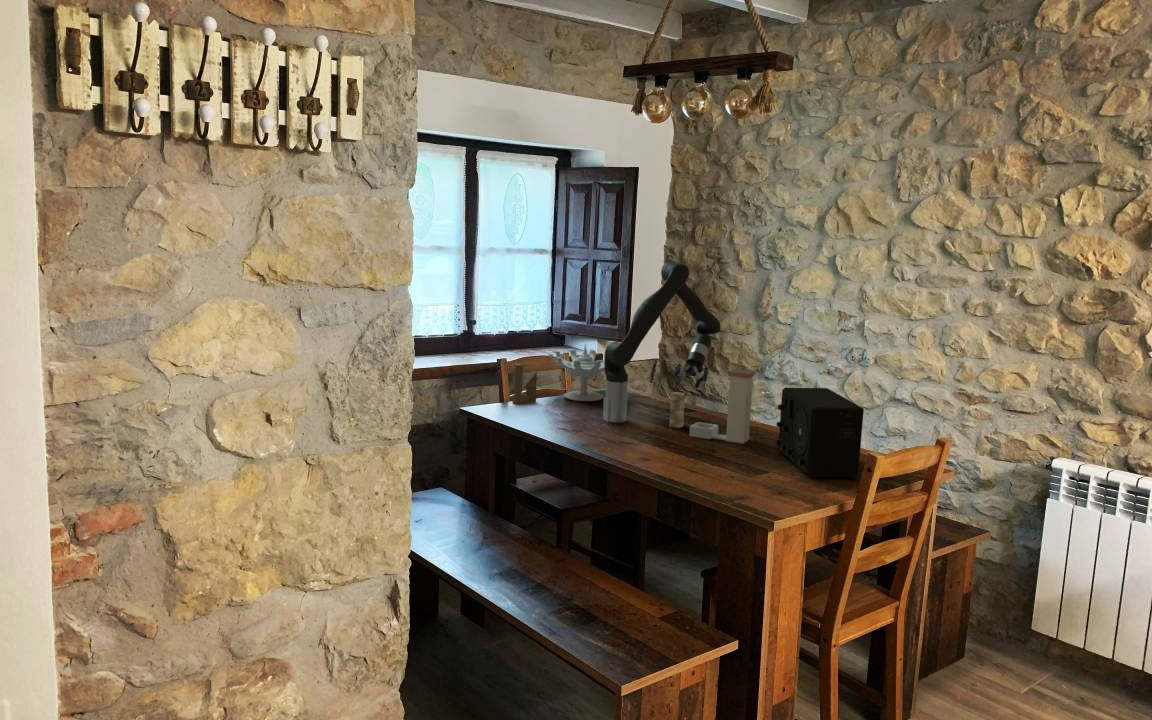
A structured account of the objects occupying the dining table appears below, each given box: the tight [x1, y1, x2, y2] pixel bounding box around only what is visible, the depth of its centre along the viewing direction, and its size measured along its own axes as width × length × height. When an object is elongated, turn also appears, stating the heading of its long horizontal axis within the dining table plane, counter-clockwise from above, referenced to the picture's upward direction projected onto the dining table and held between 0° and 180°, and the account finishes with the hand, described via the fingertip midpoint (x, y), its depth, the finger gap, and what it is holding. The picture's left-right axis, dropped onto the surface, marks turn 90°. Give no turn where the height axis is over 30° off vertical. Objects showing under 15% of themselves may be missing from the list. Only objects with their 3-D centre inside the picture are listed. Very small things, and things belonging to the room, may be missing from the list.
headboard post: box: [689, 368, 756, 445], centre depth 351 cm, size 22×9×28 cm, turn 62°
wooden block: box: [512, 363, 538, 405], centre depth 404 cm, size 4×11×18 cm, turn 126°
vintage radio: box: [775, 387, 865, 479], centre depth 317 cm, size 38×20×25 cm, turn 5°
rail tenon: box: [669, 391, 686, 429], centre depth 369 cm, size 4×4×14 cm
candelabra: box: [547, 341, 605, 402], centre depth 417 cm, size 34×35×27 cm
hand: (686, 386), depth 376 cm, fingers open, 8 cm apart
